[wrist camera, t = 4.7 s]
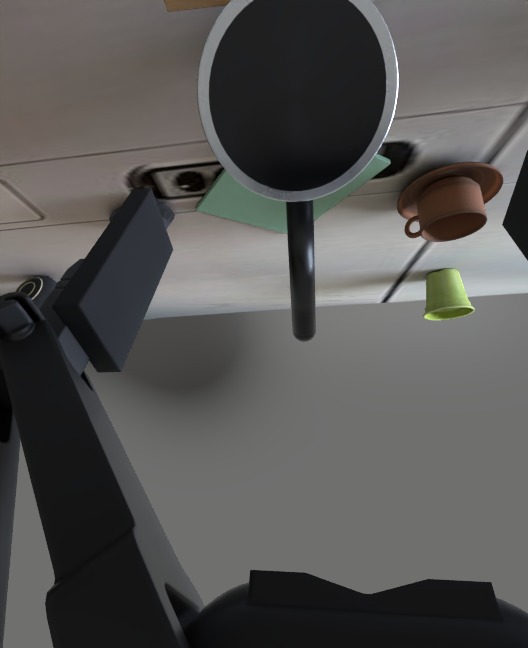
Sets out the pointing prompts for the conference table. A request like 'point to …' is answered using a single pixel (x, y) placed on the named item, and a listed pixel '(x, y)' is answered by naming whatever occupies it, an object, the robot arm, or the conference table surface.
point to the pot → (297, 109)
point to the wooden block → (192, 4)
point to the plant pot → (446, 296)
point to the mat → (269, 213)
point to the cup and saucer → (449, 200)
